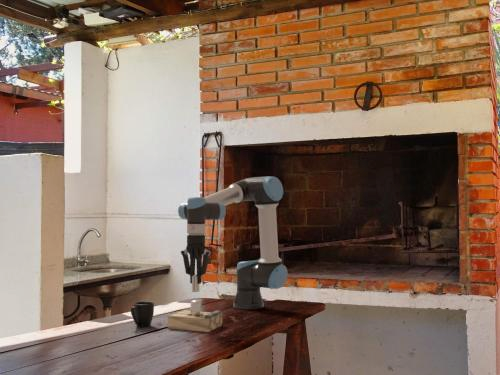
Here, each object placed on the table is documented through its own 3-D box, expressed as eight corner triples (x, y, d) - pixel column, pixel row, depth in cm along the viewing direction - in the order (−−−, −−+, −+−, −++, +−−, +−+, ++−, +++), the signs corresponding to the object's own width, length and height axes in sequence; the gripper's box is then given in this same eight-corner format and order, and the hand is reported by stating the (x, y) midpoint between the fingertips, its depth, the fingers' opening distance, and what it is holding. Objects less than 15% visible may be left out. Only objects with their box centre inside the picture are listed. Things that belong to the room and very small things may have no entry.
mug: (123, 328, 225) (123, 304, 226) (142, 323, 236) (142, 300, 236) (139, 330, 221) (139, 306, 222) (157, 325, 232) (157, 302, 232)
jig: (183, 322, 239) (183, 307, 239) (222, 325, 233) (222, 310, 233) (167, 328, 226) (167, 313, 226) (208, 331, 219) (208, 315, 220)
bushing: (193, 321, 232) (193, 299, 232) (202, 322, 231) (203, 300, 231) (188, 323, 228) (188, 301, 228) (198, 324, 226) (198, 302, 227)
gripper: (177, 234, 230) (176, 292, 229) (207, 235, 225) (207, 293, 224) (185, 233, 237) (184, 289, 236) (214, 234, 232) (214, 291, 231)
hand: (195, 291), depth 230 cm, fingers closed
